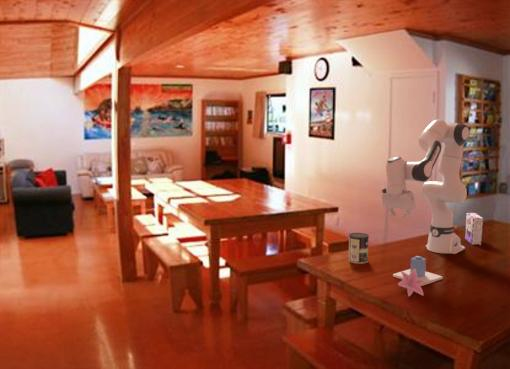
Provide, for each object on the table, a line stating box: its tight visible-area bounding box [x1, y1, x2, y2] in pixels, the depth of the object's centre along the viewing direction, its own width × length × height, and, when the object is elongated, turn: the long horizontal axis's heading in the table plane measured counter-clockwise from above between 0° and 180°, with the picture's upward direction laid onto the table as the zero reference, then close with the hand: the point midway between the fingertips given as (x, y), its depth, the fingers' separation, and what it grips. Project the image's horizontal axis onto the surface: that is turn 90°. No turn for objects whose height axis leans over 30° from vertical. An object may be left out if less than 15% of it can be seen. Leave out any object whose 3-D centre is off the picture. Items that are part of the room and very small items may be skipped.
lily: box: [397, 268, 424, 297], centre depth 213 cm, size 12×12×10 cm
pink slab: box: [392, 268, 443, 287], centre depth 231 cm, size 16×16×7 cm
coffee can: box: [348, 232, 370, 265], centre depth 257 cm, size 10×10×14 cm
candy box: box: [464, 212, 484, 246], centre depth 292 cm, size 14×6×16 cm, turn 172°
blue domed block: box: [409, 255, 427, 278], centre depth 231 cm, size 5×5×9 cm
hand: (400, 216), depth 247 cm, fingers open, 8 cm apart
